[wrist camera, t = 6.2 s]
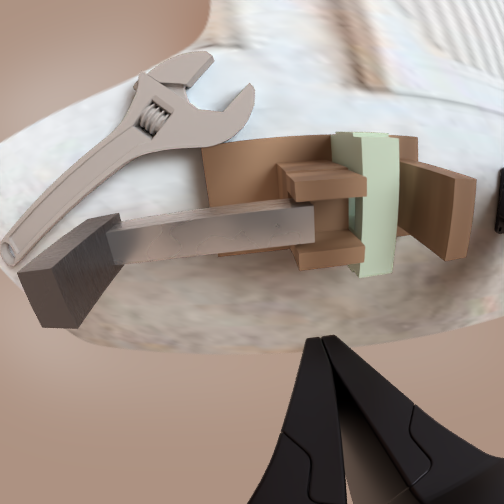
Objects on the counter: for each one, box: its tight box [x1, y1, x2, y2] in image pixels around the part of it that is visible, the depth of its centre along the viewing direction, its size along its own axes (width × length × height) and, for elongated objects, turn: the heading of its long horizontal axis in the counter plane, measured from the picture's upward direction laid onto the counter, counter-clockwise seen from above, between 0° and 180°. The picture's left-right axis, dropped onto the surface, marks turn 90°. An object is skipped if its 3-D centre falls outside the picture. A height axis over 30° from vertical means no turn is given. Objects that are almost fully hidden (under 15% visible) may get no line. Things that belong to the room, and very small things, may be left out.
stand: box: [201, 134, 477, 271], centre depth 14 cm, size 14×7×8 cm, turn 96°
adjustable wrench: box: [0, 51, 255, 266], centre depth 16 cm, size 25×6×2 cm, turn 113°
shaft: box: [17, 198, 315, 329], centre depth 10 cm, size 11×2×6 cm, turn 96°
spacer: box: [330, 132, 399, 278], centre depth 14 cm, size 2×7×5 cm, turn 6°
